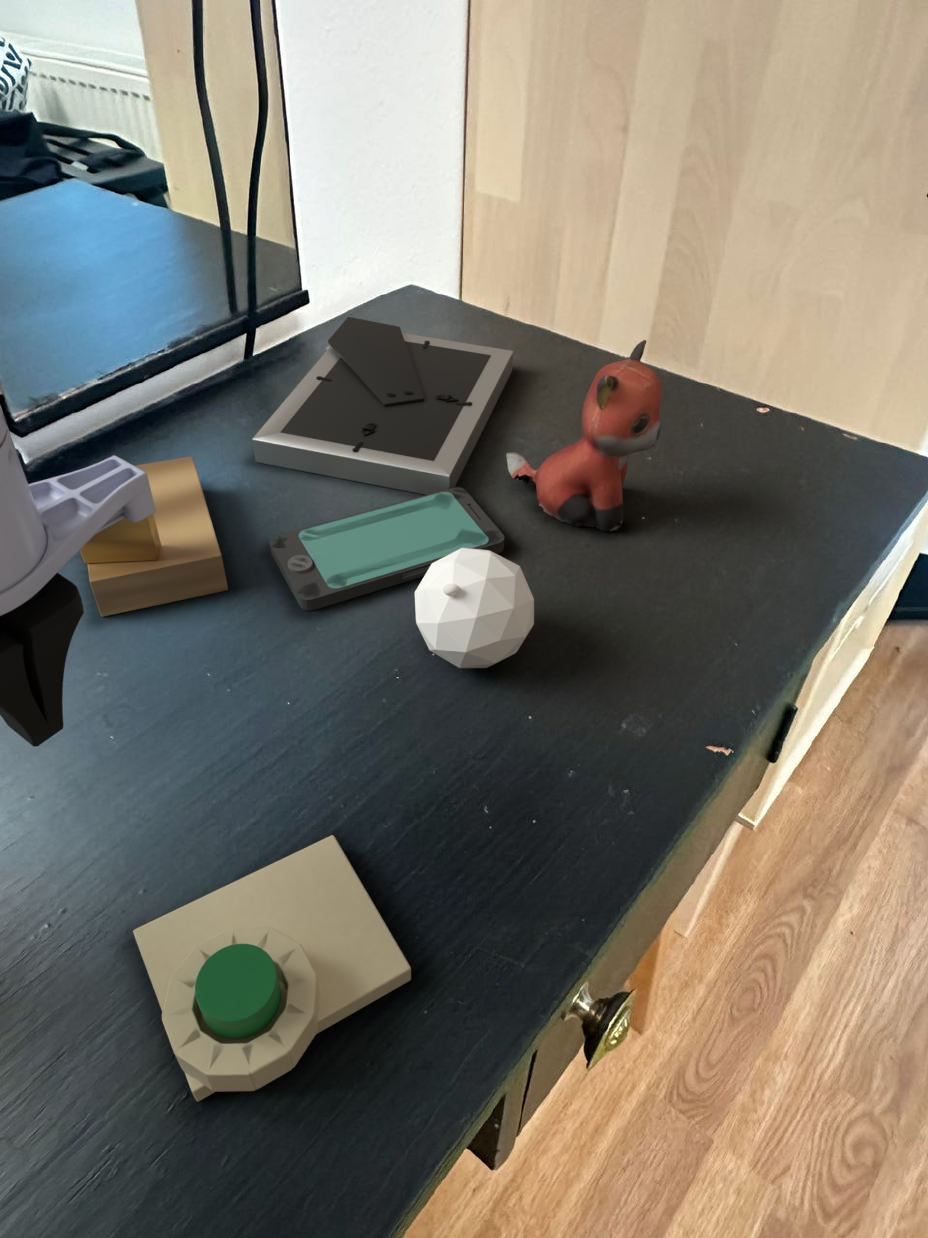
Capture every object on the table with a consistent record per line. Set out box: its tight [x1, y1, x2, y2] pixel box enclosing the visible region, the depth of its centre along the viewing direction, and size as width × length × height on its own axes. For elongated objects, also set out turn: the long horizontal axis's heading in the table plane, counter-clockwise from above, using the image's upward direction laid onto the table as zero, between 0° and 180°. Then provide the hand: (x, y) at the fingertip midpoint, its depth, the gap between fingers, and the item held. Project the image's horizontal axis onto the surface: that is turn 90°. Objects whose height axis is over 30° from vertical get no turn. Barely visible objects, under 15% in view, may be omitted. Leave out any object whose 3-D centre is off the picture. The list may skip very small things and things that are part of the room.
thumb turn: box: [79, 514, 161, 564], centre depth 55 cm, size 4×2×4 cm, turn 97°
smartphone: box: [269, 486, 505, 612], centre depth 62 cm, size 7×1×15 cm
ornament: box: [414, 548, 535, 669], centre depth 53 cm, size 7×7×8 cm
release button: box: [195, 944, 281, 1040], centre depth 36 cm, size 3×3×2 cm
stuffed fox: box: [506, 339, 663, 532], centre depth 64 cm, size 8×11×12 cm
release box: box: [132, 834, 412, 1102], centre depth 39 cm, size 10×9×3 cm
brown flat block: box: [86, 455, 229, 618], centre depth 61 cm, size 12×8×3 cm, turn 21°
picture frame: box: [251, 316, 514, 496], centre depth 75 cm, size 16×3×21 cm
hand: (35, 726), depth 37 cm, fingers closed
